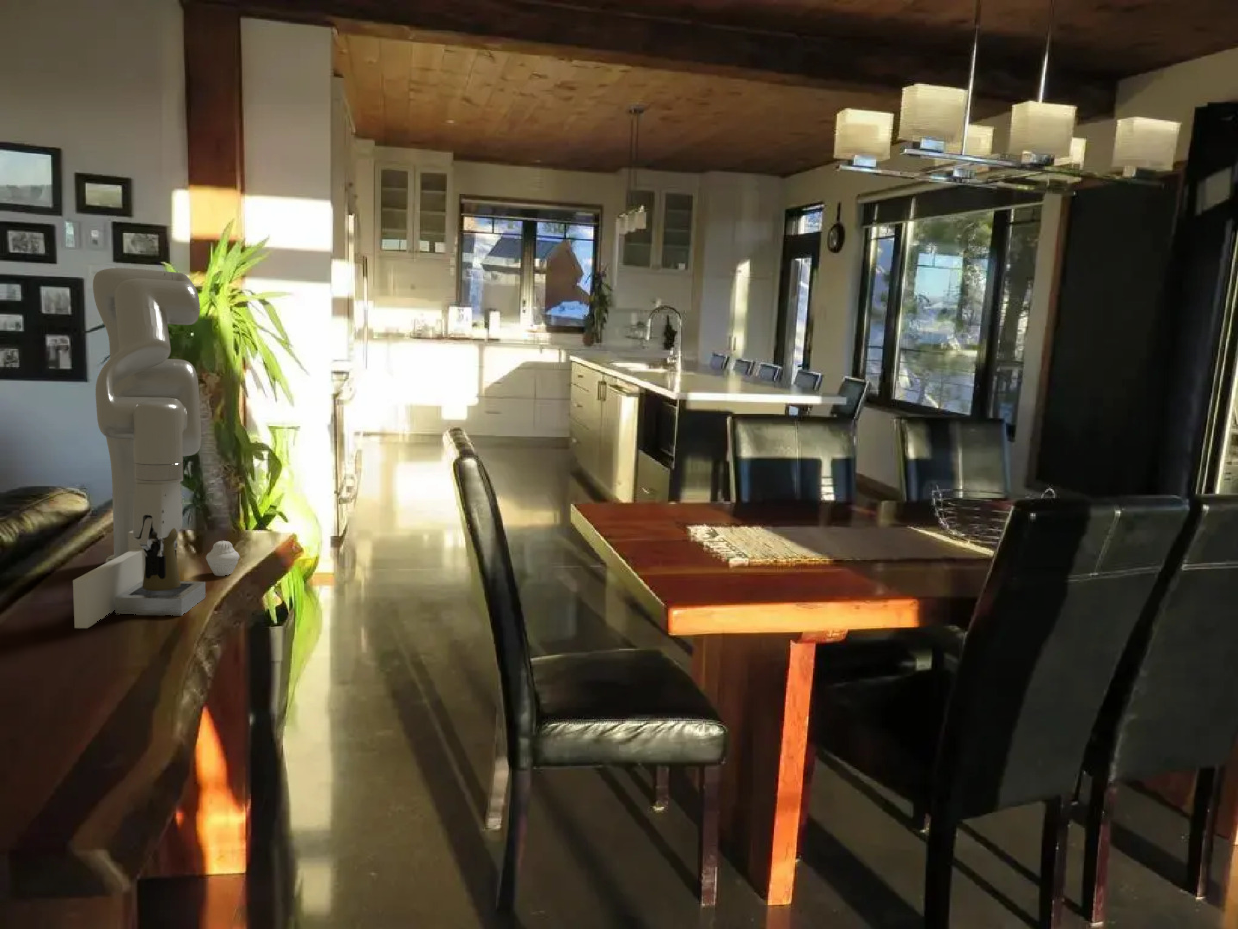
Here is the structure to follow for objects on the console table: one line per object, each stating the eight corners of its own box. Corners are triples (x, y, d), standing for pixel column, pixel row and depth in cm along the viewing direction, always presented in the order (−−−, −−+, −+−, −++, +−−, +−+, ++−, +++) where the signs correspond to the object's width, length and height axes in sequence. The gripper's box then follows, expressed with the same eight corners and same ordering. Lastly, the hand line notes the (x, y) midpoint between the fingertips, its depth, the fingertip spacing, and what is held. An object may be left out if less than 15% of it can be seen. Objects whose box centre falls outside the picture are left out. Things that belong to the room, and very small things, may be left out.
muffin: (241, 569, 187) (241, 536, 186) (237, 577, 181) (237, 543, 180) (208, 570, 185) (208, 537, 184) (203, 578, 179) (203, 544, 178)
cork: (165, 592, 157) (163, 530, 155) (134, 588, 158) (132, 527, 157) (188, 583, 163) (187, 523, 161) (158, 580, 164) (157, 520, 162)
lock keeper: (143, 596, 166) (143, 580, 166) (205, 597, 167) (205, 581, 167) (115, 614, 155) (114, 597, 155) (181, 615, 156) (181, 599, 156)
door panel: (136, 585, 172) (135, 529, 171) (158, 586, 172) (157, 529, 171) (68, 627, 147) (65, 562, 146) (93, 628, 148) (91, 562, 146)
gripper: (157, 465, 166) (159, 562, 168) (114, 479, 149) (117, 587, 152) (199, 466, 166) (201, 563, 169) (161, 480, 150) (163, 588, 152)
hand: (161, 573), depth 160 cm, fingers closed on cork, 3 cm apart
